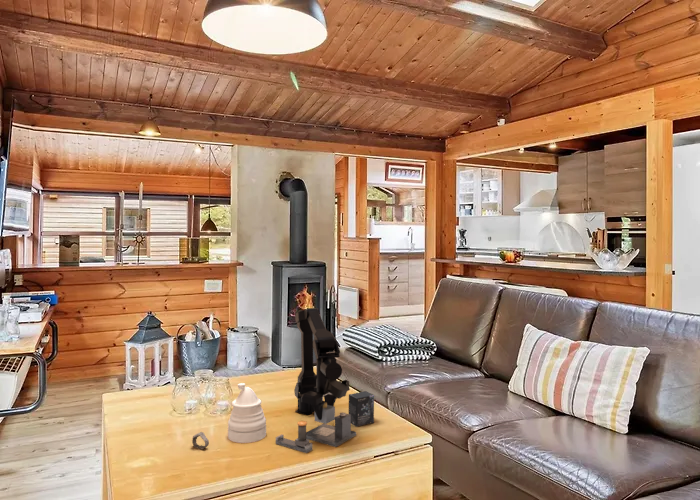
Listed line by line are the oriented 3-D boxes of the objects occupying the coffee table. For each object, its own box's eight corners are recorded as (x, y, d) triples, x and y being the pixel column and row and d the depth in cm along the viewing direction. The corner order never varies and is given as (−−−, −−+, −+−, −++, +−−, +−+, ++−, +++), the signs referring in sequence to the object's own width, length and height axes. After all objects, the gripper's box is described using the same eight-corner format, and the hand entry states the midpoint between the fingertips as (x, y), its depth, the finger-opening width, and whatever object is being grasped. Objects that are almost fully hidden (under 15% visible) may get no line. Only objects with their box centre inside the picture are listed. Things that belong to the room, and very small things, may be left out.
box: (356, 427, 184) (356, 398, 184) (348, 422, 189) (348, 394, 188) (374, 423, 188) (374, 394, 188) (365, 418, 193) (365, 390, 193)
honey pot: (233, 445, 168) (233, 391, 167) (223, 432, 179) (223, 381, 179) (271, 438, 174) (271, 385, 173) (259, 426, 185) (259, 376, 184)
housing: (314, 420, 176) (314, 403, 176) (323, 416, 180) (323, 399, 180) (326, 423, 173) (326, 406, 173) (334, 419, 177) (334, 402, 177)
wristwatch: (197, 444, 169) (197, 429, 169) (211, 448, 166) (211, 432, 166) (189, 448, 166) (189, 432, 166) (203, 452, 163) (203, 436, 163)
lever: (294, 444, 165) (294, 422, 164) (300, 441, 167) (300, 419, 167) (304, 447, 162) (304, 425, 162) (310, 444, 165) (310, 422, 165)
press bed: (302, 437, 174) (302, 411, 174) (323, 426, 184) (323, 401, 184) (336, 447, 167) (336, 419, 166) (356, 435, 177) (356, 409, 176)
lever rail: (275, 443, 169) (275, 437, 169) (281, 440, 172) (281, 434, 172) (306, 453, 162) (306, 446, 162) (312, 449, 164) (312, 443, 164)
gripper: (327, 382, 164) (327, 431, 164) (359, 369, 179) (359, 414, 180) (300, 377, 170) (300, 423, 170) (333, 365, 185) (333, 408, 186)
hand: (324, 417), depth 176 cm, fingers closed on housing, 5 cm apart
